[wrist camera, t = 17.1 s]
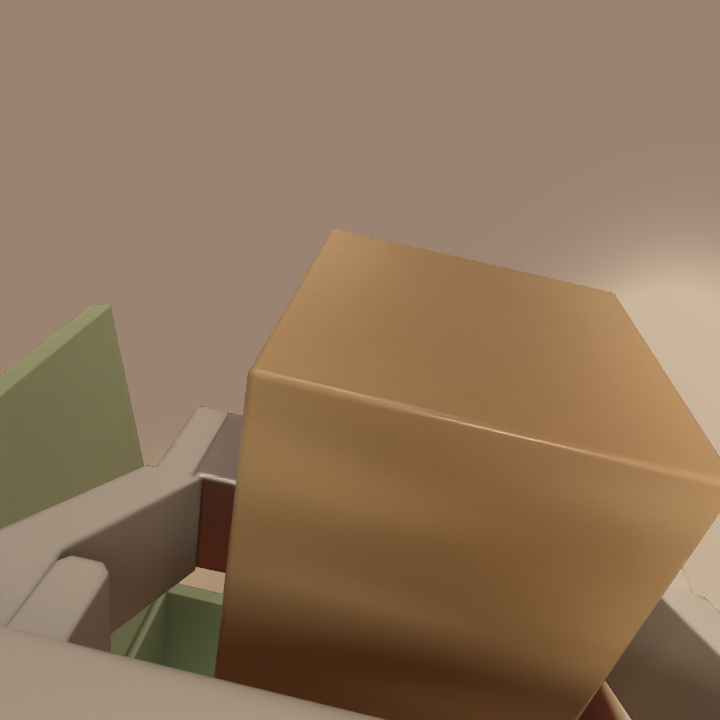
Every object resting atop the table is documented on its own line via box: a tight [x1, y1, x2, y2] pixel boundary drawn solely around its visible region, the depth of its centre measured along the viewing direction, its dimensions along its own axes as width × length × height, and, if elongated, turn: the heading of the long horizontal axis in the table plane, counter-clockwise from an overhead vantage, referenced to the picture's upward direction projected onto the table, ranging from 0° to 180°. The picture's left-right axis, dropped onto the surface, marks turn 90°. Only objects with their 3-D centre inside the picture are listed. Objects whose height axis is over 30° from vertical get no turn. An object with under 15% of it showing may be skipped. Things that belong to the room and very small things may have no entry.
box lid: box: [0, 304, 151, 656], centre depth 19 cm, size 14×12×1 cm
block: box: [214, 229, 720, 720], centre depth 9 cm, size 4×4×8 cm
